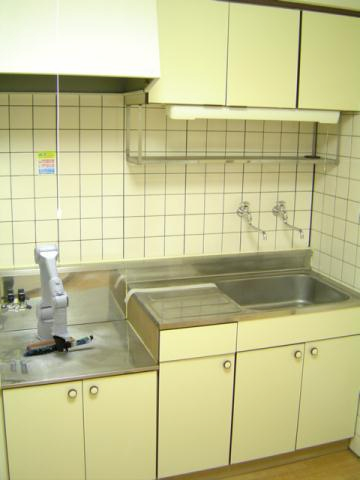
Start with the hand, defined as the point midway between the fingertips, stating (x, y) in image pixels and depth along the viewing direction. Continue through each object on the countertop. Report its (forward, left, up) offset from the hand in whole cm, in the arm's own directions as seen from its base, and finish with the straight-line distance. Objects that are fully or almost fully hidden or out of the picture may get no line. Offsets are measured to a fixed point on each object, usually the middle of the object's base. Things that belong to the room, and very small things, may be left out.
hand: (60, 351), depth 233 cm
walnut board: (-9, 0, -1) cm, 9 cm away
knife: (-1, 0, -1) cm, 2 cm away
